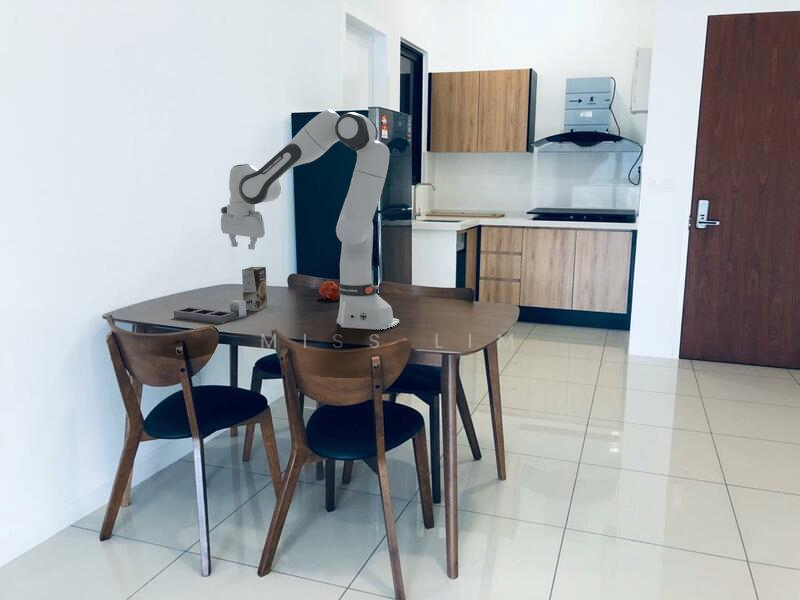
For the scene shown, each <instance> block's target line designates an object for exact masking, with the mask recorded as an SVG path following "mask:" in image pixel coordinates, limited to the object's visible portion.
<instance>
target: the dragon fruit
mask: <svg viewBox="0 0 800 600" xmlns="http://www.w3.org/2000/svg"><path fill="white" fill-rule="evenodd" d="M317 292H318V294H320V295H321V296H322V297H323V300H326V299H327V298H328V299H329V300H332V301H337V300H339V299H337V298H340V296H339V284H338V283H335V282H334V281H332V280H331V281H330V280H326V281H324V282H322V284H320V286H319V290H318V291H317ZM328 299H327V300H328Z"/></svg>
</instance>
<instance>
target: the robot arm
mask: <svg viewBox="0 0 800 600" xmlns="http://www.w3.org/2000/svg"><path fill="white" fill-rule="evenodd" d="M378 135H379V132H378V127H377V126H376V124H375V123H374V122H373V120H372V119H370V118H368V117H367V116H365V115H363V114H360V113H357V112H354V111H353V112H346V113H344V114H341V116H340V115H339V114H338V113H337V112H336V111H334V110H332V109H326V110H324V111H323V110H322V112H320V113H318V114H317V115H316V116H314V117H313V118H312V119H310V120H309V121H308V123H306V124H305V125H304V126H303V127H302V128H300V130H299V131H298V132H297V134H296V135H295V136H294V137H293V138H292V139H291V140H290V141H289V142H288V143H287V144H286V145H285V146H284V147H283V148H282V149H281V150H280V151H279V152H277V153H276V154H275V155H274V156H273V157H272V158H271V159H270V160H269V161H267V162H266V163H265V164H264V165H263V166H261V168H259V169H257V168H256V167H255V166H253V164H250V163H244V164H237V165H233V166H232V167H231V168H230V172H229V179H228V180H229V181H228V182H229V183H228V185H229V193H230V197H229V204H227V205H225V206H223V207H220V213H221V216H220V229H221V232H222V233H223V234H225V235H226V234H227V235H228V238H229V240H230V242H231V247H232V248H237V247H238V244H239V242H238V241H237V239H236V237H237V236H242V237H247V238H249V240H250V243H249V244H247V245H248V246H247V247H248V248H247V249H248V250H251V251H252V250H255V247H256V246H255V245H256V243H257V241H258V238H259V239H261V238H264V237H265V223H264V218H263V215H262V214H261V213H260V211H256V207H255V206H256V205H257V204H261V203H267V202H272V201H274V200H276V199H278V197H279V196H280V193H281V192H282V191H281V189H282V187H281V182H280V181H279V178H281V177H282V176H283V175H284V174H286V173H287V172H288V171H289V170H291V169H293V168H294V167H297V166H300V165H303V164H304V165H305V164H309V163H311V162H314V161H315V160H317V159H319V158H320V157H322V156H323V155H324V154H325V153H326V152H327V151H328V150H329V149H330V148H331V147H332V146H333V145H335V143H337V142H341V143H343V145H344V146H346V147H348V148H349V149H351V150H353V151H354V152H356V154H357V155H356V163H355V167H354V170H353V173H352V177H351V180H350V185H349V187H348V188H349V189H348V192H347V194H346V197H345V199H344V203H343V205H342V208H341V211H340V213H339V217H338V221H337V223H336V228H335V232H336V237H337V239H338V240H339V241H340V242H341V250H340V252H341V253H340V260H339V280H340V281H339V296H340V297H339V309H338V314H337V318H336V324H338V325H340V328H343V329H344V328H347V329H363V330H376V329H377V330H378V331H379V330H380V329H381V330H380V331H383V330H382V329H384V330H388V329H387V328H389V329H391V328H390V327H392V328H394V327H396V326H398V325H399V324H400V319H398V318H395V317H394V313H393V309H392V306H391V304H389V303H388V302H387V301H386V300H384V299H383V298H382V297H381V296H380V295H378V294H377V289H379V285H374V283H373V282H372V281H373V279H372V259H373V258H372V255H373V244H374V243H373V242H374V223H373V219H374V216H375V213H376V211H377V208H378V205H379V203H380V199H381V195H382V193H383V189H384V185H385V183H386V178H387V174H388V169H389V163H390V149H389V147H388V146H387V145H386V144H385V143H383V142H381V141H379V140H377V139H378V137H379V136H378ZM398 323H399V324H398ZM397 324H398V325H397ZM395 325H396V326H395ZM393 326H394V327H393Z"/></svg>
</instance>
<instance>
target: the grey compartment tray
mask: <svg viewBox="0 0 800 600" xmlns="http://www.w3.org/2000/svg"><path fill="white" fill-rule="evenodd" d="M173 318H174V319H179V318H182V319H181V320H186V319H188V321H194V320H196V322H202V321H207V322H206V323H210V322H215V323H214V324H217V323H222V324H224V323H223V322H226V321H229V320H232V319H235V318H236V313H235V312H230V311H225V310H219V309H218V310H217V309H207V308H199V307H193V306H192V307H190V306H188V307H185V308H181V309H178V310H174V311H173ZM236 319H237V318H236ZM236 319H235V320H236ZM232 321H233V320H232ZM229 322H230V321H229ZM226 323H227V322H226Z"/></svg>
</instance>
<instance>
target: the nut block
mask: <svg viewBox="0 0 800 600" xmlns="http://www.w3.org/2000/svg"><path fill="white" fill-rule="evenodd" d="M229 309H230V311H229V312H235V313H236V317H242V318H244V317H243V316H245V317H247V311H246V300H243V299H233V300H231V301H229Z"/></svg>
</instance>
